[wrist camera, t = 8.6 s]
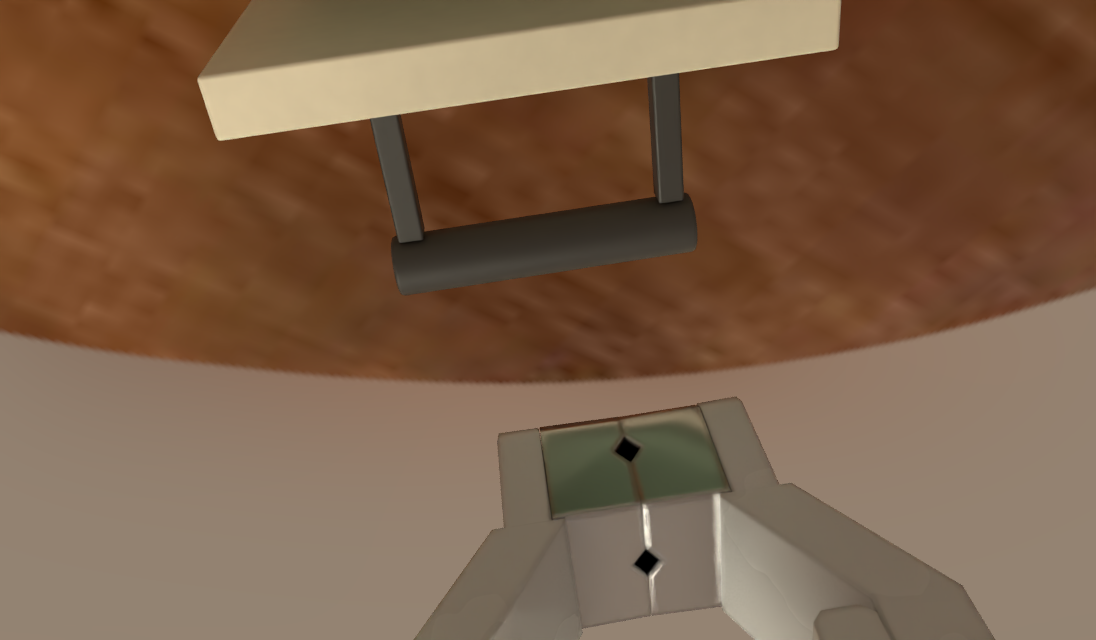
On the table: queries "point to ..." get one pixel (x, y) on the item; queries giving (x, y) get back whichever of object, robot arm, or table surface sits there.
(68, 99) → the table surface
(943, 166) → the table surface
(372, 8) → the drawer
